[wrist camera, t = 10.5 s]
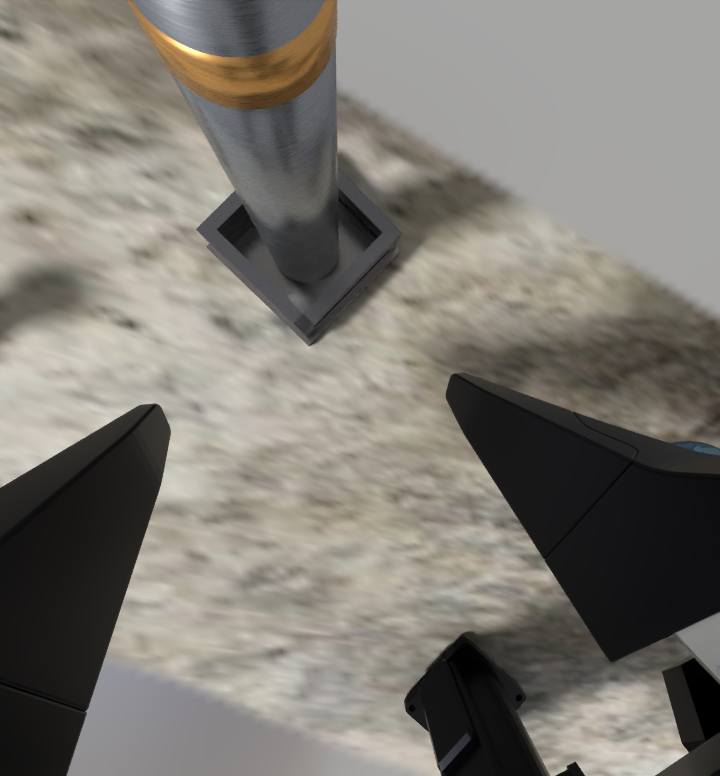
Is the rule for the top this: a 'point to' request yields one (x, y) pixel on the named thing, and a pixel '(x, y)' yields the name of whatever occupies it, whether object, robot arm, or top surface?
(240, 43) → the tube
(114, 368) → the top surface
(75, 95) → the top surface
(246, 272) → the collar block
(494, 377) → the top surface
